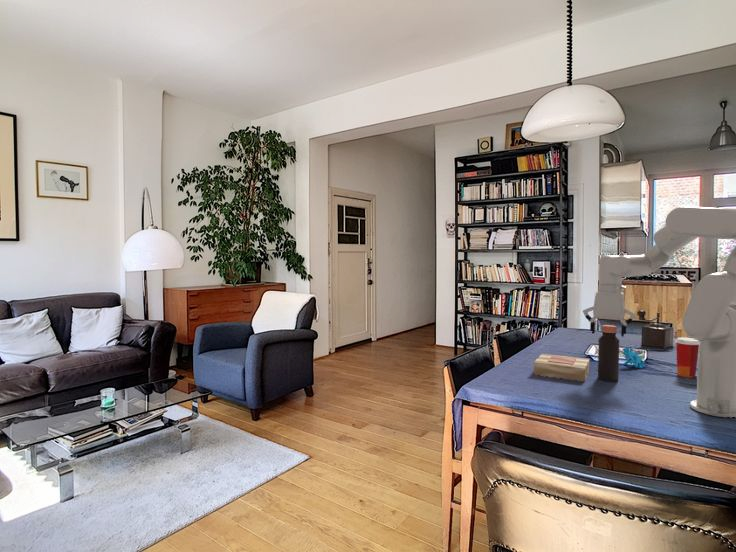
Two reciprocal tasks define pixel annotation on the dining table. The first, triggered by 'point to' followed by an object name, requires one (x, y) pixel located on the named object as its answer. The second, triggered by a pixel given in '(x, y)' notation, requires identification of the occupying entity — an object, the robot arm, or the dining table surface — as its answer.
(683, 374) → the paper cup
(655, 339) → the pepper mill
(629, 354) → the blue lumpy piece
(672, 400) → the dining table surface
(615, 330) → the vinegar
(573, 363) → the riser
